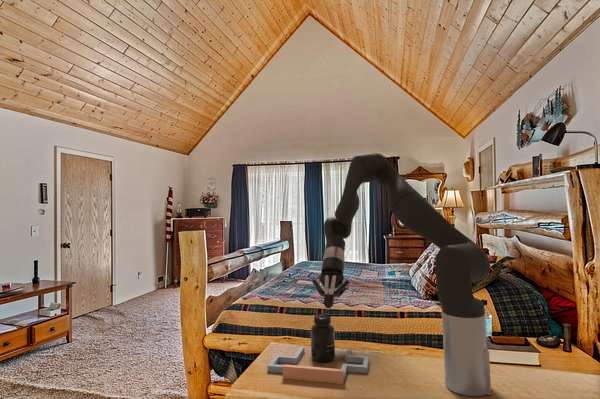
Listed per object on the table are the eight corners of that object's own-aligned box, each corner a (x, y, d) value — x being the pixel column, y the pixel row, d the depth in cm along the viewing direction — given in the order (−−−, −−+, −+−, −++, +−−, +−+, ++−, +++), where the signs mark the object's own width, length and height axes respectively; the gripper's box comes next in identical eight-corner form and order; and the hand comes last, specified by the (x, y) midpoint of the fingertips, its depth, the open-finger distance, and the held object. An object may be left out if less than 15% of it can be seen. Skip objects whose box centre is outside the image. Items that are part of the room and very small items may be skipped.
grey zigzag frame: (369, 356, 102) (369, 345, 103) (365, 386, 85) (364, 373, 85) (284, 350, 109) (284, 340, 109) (263, 376, 91) (263, 364, 92)
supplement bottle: (334, 364, 98) (333, 319, 98) (310, 363, 99) (308, 319, 99) (335, 354, 105) (334, 313, 105) (312, 353, 106) (311, 312, 106)
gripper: (313, 255, 123) (305, 299, 111) (351, 256, 120) (347, 301, 108) (316, 268, 128) (309, 312, 116) (353, 269, 125) (350, 314, 113)
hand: (328, 307), depth 112 cm, fingers closed
